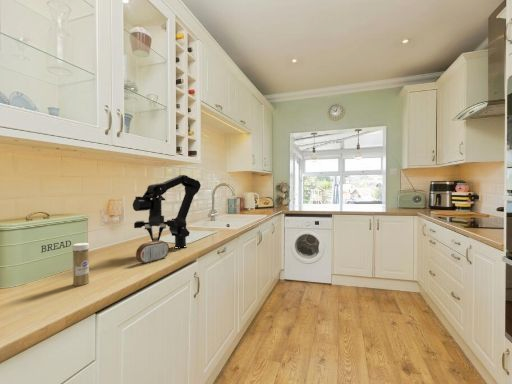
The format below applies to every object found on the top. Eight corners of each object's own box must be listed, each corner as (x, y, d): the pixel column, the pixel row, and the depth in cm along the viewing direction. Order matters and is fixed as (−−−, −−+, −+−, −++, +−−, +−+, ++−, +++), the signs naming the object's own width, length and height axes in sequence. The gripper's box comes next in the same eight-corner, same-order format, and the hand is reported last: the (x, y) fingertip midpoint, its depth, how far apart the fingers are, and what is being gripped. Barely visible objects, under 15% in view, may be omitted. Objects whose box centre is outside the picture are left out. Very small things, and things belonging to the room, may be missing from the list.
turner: (151, 241, 129) (151, 237, 129) (161, 240, 131) (161, 237, 131) (147, 248, 114) (147, 243, 114) (159, 247, 116) (159, 243, 116)
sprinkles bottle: (81, 286, 82) (81, 245, 82) (69, 285, 82) (68, 245, 82) (92, 281, 86) (92, 242, 86) (80, 280, 87) (80, 242, 87)
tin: (166, 256, 119) (166, 238, 119) (170, 257, 117) (170, 239, 117) (135, 264, 106) (135, 244, 106) (139, 265, 105) (139, 245, 105)
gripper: (132, 211, 115) (132, 245, 115) (175, 210, 120) (175, 243, 120) (135, 209, 125) (136, 241, 125) (175, 208, 131) (175, 238, 131)
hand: (155, 241), depth 125 cm, fingers closed on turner, 2 cm apart
